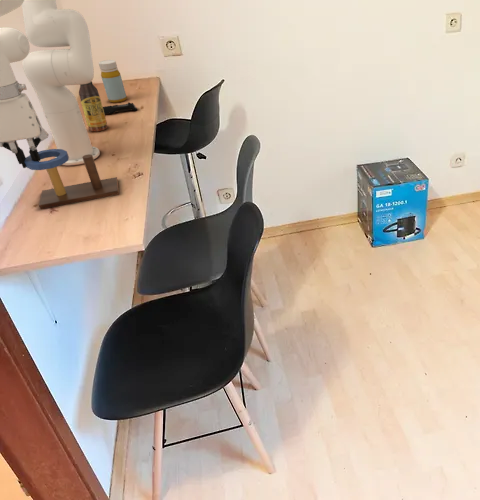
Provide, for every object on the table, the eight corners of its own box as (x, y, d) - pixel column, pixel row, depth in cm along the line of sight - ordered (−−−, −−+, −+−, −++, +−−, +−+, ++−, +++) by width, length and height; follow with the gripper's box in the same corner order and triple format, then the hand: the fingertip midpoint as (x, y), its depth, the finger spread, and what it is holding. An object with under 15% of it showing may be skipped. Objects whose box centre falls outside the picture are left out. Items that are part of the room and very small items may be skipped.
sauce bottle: (92, 134, 174) (73, 74, 163) (86, 129, 178) (67, 71, 167) (111, 129, 178) (94, 70, 167) (105, 124, 182) (88, 67, 171)
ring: (29, 158, 132) (26, 152, 131) (69, 152, 135) (67, 146, 134) (24, 172, 125) (22, 166, 124) (67, 165, 128) (65, 159, 127)
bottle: (114, 97, 208) (103, 59, 200) (130, 97, 207) (120, 59, 199) (105, 103, 203) (93, 64, 194) (121, 103, 202) (110, 64, 193)
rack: (43, 194, 138) (29, 159, 132) (118, 180, 143) (107, 146, 138) (40, 209, 131) (25, 173, 125) (119, 194, 137) (107, 159, 131)
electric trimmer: (93, 115, 192) (90, 106, 190) (136, 108, 196) (134, 100, 194) (93, 118, 189) (90, 109, 187) (137, 111, 193) (134, 102, 191)
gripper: (40, 83, 124) (66, 154, 134) (-35, 92, 119) (-2, 165, 129) (37, 91, 118) (64, 164, 128) (-42, 101, 113) (-7, 176, 123)
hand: (31, 164), depth 129 cm, fingers closed on ring, 2 cm apart
